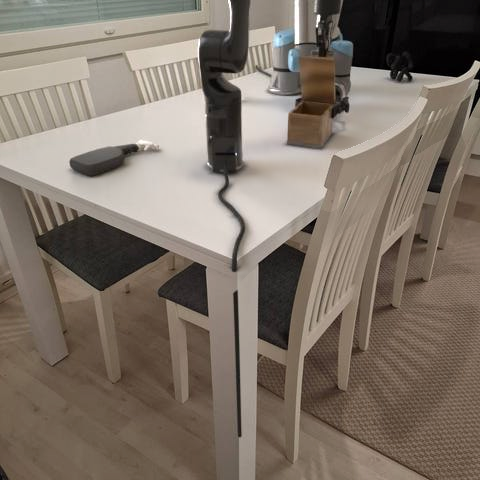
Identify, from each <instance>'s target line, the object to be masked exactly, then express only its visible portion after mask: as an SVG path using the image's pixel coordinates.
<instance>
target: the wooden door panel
mask: <svg viewBox="0 0 480 480" xmlns="http://www.w3.org/2000/svg"><path fill="white" fill-rule="evenodd" d="M318 53H319V50H312V51H311V56H299V58H298V59H299V70H300V81H301V93H300V94H301V97H302V100H307V101H318V102H329V103H335V58H334V57H335V55H336V51H327V53H326V57H313V56H318ZM329 57H330V58H329Z"/></svg>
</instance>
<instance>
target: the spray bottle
mask: <svg viewBox="0 0 480 480" xmlns="http://www.w3.org/2000/svg"><path fill="white" fill-rule="evenodd" d="M159 148H160V145H159V144H158V143H155V142H151V141H148V140H144V139H139V140H138V141H137V142H135V143H129V144H128V143H126V144H122V145H113V146H105V147H100V148H97V149H94V150H90V151H87V152H83V153H81V154H78V155H74V156H73V157H70V159H69V161H68V162H69V167H70V168H71V169H72V170H74V171H75V172H78V173H81V174H83V175H85V176H89V177H90V176H91V177H92V176H95V175H99V174H102V173H105V172H107V171H110V170H113V169H116V168H118V167H120V166H122V165H123V164H124V163H125V158H126V156H127V155H131V154H133V153H138V151H140V150H143V151H144V152H146V151H147V150H149V149H159Z"/></svg>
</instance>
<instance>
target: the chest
mask: <svg viewBox="0 0 480 480" xmlns="http://www.w3.org/2000/svg"><path fill="white" fill-rule="evenodd" d="M334 107H335V104H330V103H319V102H308V101H302V102H301V103H300V104H299V105H297V106H296V107H295V106H294V108H293V109H291V110H290V111H289V112H288V114H287V137H286V145H288V146H295V147H296V146H297V147H304V148H313V149H322V147H323V146H324V145H325V144H326V142H327V141H328V140H329V138H330V137H331V136H332V134H333V128H334V127H333V125H334V119H332V118H331V116H332V109H333V108H334Z"/></svg>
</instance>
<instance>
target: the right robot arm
mask: <svg viewBox="0 0 480 480" xmlns="http://www.w3.org/2000/svg"><path fill="white" fill-rule="evenodd" d="M343 2H344V0H341V8H340V13H339V14H336V15H333V21H334V23H335V26H334V31H333V36H332V42H331V44H330V46H329V51H336V55H335V57H334V58H335V103H330V104H335V107H334V108H333V109H332V116H331V118H332V119H333V120H334V119H335V118H336V117H337V115H340V114H342V113H343V112H344V113H349V112H350V102H349V100H350V98H349V96H348V94H349V93H350V91H351V88H352V82H351V73H352V72H351V71H352V63H353V57H354V56H353V55H354V54H353V53H354V44H353V42H352V41H350V40H344V39H343V34H342V33H341V30H340V27H339V26H338V25H339V21H340V16H341V12H342V7H343ZM293 6H294V7H293V9H294V10H293V11H294V13H293V14H294V17H293V18H294V19H293V21H294V26H293V27H294V28H289V29H285V30H280V31H278V32H276V33H275V34H274V36H273V43H272V47H273V51H272V53H273V55H272V56H273V57H272V58H273V59H272V73H268V72H267V71H265V70H262V69H260V68H258V64H256V65H255V69H256V70H257V71H258V72H260V73H261V74H264V75H266V76H268V77H270V80H269V82H268V85H267V86H268V87H267V88H268V89H267V91H268V92H269V93H270V94H273V95H280V96H295V95H300V94H302V93H301V81H300V70H299V59H298V58H299V56H311V51H312V50H319V48H318V47H317V45H316V31H315V29H316V27H317V23H318V22H319V18H320V15H317V14H314V13H313V7H314V0H293ZM313 57H318V56H313ZM329 58H330V57H329ZM302 101H307V100H302V96H301V97H298V98H296V99H295V100H294V108H295V107H296V106H297V105H299V104H300V103H301V102H302ZM308 102H318V101H308ZM319 103H329V102H319Z"/></svg>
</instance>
